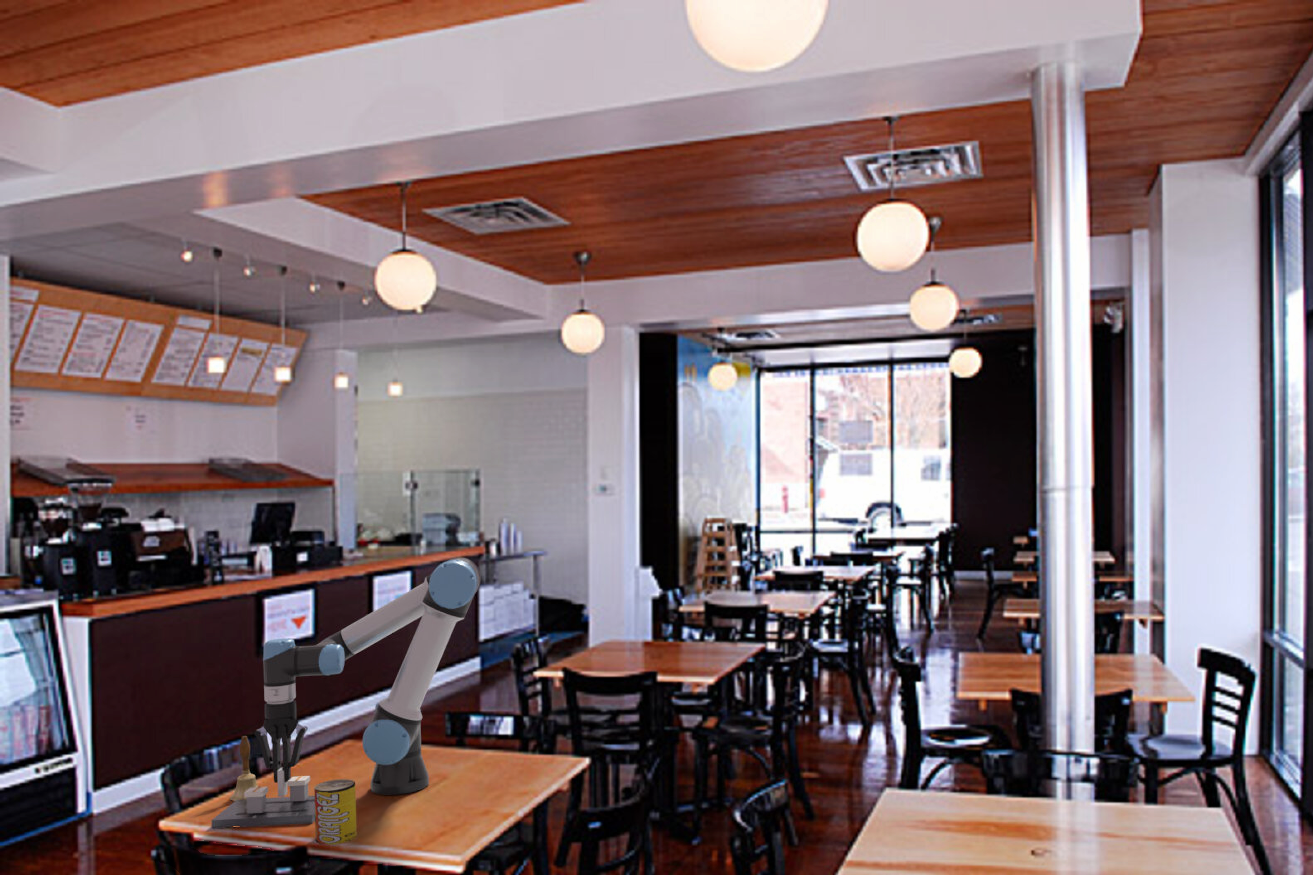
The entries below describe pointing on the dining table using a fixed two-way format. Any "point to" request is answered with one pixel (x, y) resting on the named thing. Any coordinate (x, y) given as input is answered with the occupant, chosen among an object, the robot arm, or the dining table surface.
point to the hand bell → (244, 772)
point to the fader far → (298, 788)
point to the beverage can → (335, 811)
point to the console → (267, 813)
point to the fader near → (256, 799)
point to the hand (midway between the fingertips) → (282, 794)
